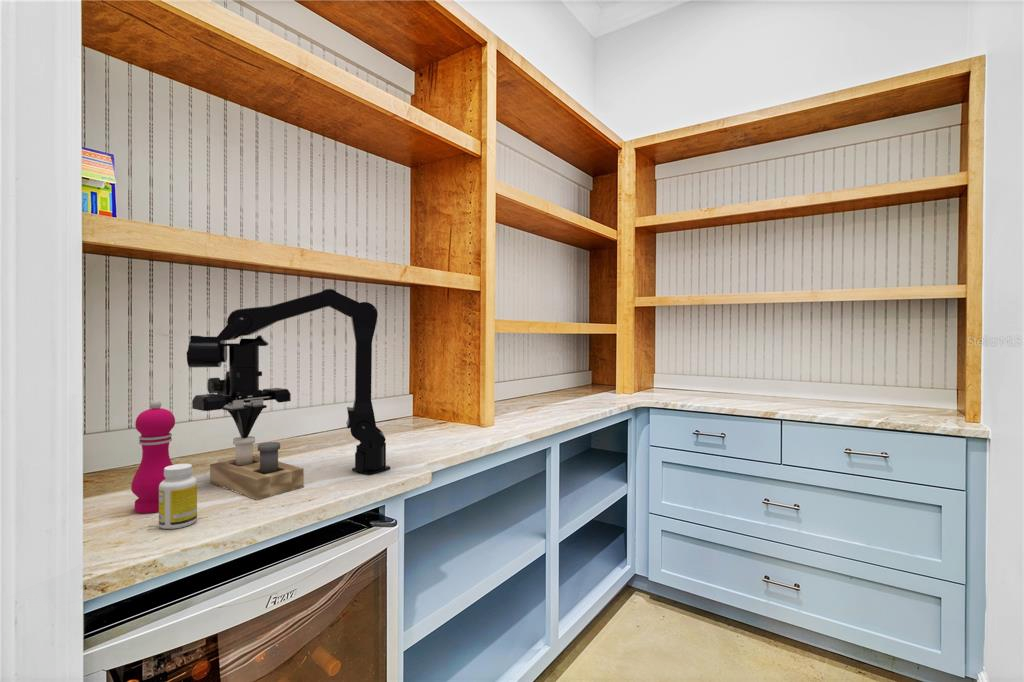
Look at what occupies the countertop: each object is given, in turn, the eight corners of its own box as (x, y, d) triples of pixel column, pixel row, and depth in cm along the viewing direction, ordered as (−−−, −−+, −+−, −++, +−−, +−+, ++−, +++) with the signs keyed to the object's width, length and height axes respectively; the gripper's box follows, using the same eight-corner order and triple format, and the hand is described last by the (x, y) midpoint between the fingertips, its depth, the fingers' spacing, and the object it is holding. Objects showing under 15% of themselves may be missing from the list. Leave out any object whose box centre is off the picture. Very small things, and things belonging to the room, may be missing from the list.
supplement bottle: (204, 518, 87) (204, 462, 87) (182, 530, 82) (182, 471, 82) (174, 517, 87) (174, 462, 87) (150, 529, 82) (150, 470, 82)
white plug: (248, 461, 112) (248, 435, 112) (258, 464, 110) (258, 437, 109) (229, 465, 108) (229, 438, 108) (239, 468, 106) (239, 441, 106)
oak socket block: (255, 472, 116) (255, 455, 116) (303, 487, 105) (303, 468, 105) (210, 482, 108) (210, 464, 107) (256, 500, 97) (256, 479, 97)
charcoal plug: (273, 468, 106) (273, 441, 106) (284, 471, 104) (284, 443, 104) (253, 472, 103) (253, 444, 103) (264, 476, 100) (264, 447, 100)
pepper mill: (183, 507, 92) (182, 400, 92) (134, 517, 87) (134, 404, 87) (174, 498, 97) (174, 396, 97) (128, 507, 92) (128, 399, 92)
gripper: (265, 363, 121) (265, 427, 121) (180, 367, 106) (180, 440, 106) (292, 365, 115) (292, 432, 115) (204, 370, 99) (205, 447, 99)
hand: (244, 437), depth 109 cm, fingers closed
